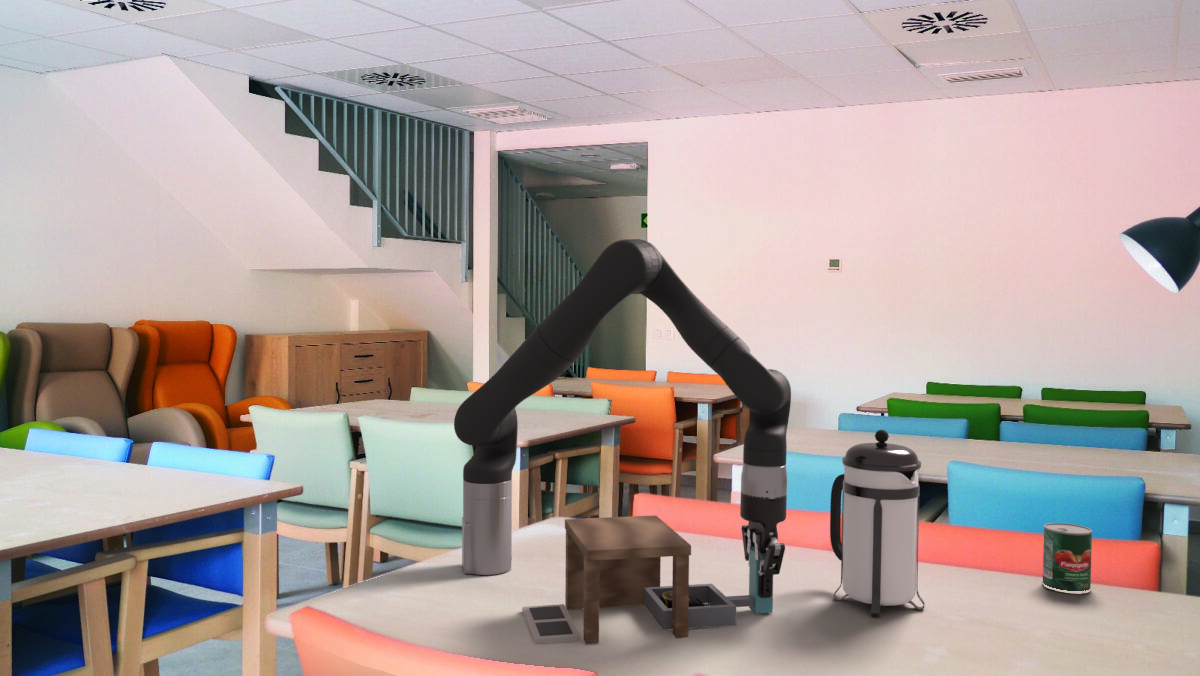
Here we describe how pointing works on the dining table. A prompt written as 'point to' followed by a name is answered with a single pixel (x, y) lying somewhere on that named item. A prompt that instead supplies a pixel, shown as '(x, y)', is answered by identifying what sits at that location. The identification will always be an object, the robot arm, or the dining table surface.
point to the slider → (710, 602)
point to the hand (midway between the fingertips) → (760, 593)
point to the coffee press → (877, 523)
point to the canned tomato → (1067, 556)
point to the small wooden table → (623, 567)
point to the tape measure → (667, 600)
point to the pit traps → (550, 624)
